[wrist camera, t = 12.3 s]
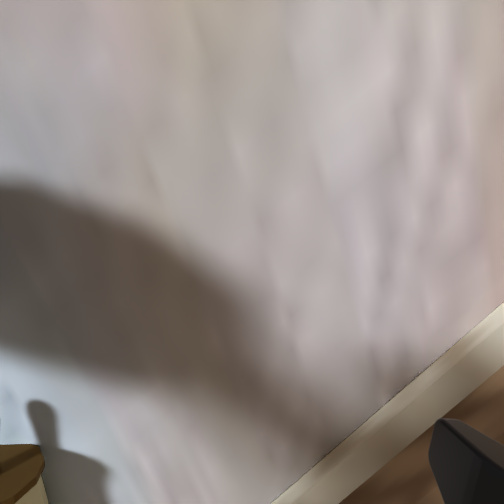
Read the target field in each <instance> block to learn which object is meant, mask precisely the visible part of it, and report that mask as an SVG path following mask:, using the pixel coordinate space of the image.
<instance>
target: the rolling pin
mask: <svg viewBox="0 0 504 504" xmlns="http://www.w3.org/2000/svg"><path fill="white" fill-rule="evenodd" d="M44 466H45V461H44V457H43V455H42V453H41V450H40V448H39V446H36V445H32V444H13V445H0V504H49V503H48V499H47V495H46V491H45V488H44V484H43V480H42V476H41V473H42V471H43V469H44Z"/></svg>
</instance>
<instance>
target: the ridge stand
mask: <svg viewBox="0 0 504 504" xmlns="http://www.w3.org/2000/svg"><path fill="white" fill-rule="evenodd" d="M439 418H448V419H458V420H460V421H462V422H464V423H466V424H467V425H469V426H471V427H473V428H474V429H476V430H478V431H480V432H481V433H483V434H485V435H487V436H488V437H490V438H492V439H493V440H495V441H497V442H499V443H500V444H502V445H504V302H503V303H502V304H501V305H500V306H499V307H498V308H496V309H495V310H494V311H493V312H492V313H491V314H489V315H488V316H487V317H486V318H485V319H484V320H482V321H481V322H480V323H479V324H478V325H477V326H476V327H474V328H473V329H472V330H471V331H470V332H469V333H467V334H466V335H465V336H464V337H463V338H462V339H461V340H459V341H458V342H457V343H456V344H455V345H454V346H452V347H451V348H450V349H449V350H448V351H447V352H446V353H444V354H443V355H442V356H441V357H440V358H439V359H437V360H436V361H435V362H434V363H433V364H432V365H431V366H429V367H428V368H427V369H426V370H425V371H424V372H422V373H421V374H420V375H419V376H418V377H417V378H416V379H414V380H413V381H412V382H411V383H410V384H409V385H407V386H406V387H405V388H404V389H403V390H402V391H401V392H399V393H398V394H397V395H396V396H395V397H394V398H392V399H391V400H390V401H389V402H388V403H387V404H385V405H384V406H383V407H382V408H381V409H380V410H379V411H377V412H376V413H375V414H374V415H373V416H372V417H370V418H369V419H368V420H367V421H366V422H365V423H364V424H362V425H361V426H360V427H359V428H358V429H357V430H355V431H354V432H353V433H352V434H351V435H350V436H349V437H347V438H346V439H345V440H344V441H343V442H342V443H340V444H339V445H338V446H337V447H336V448H335V449H334V450H332V451H331V452H330V453H329V454H328V455H327V456H325V457H324V458H323V459H322V460H321V461H320V462H319V463H317V464H316V465H315V466H314V467H313V468H312V469H310V470H309V471H308V472H307V473H306V474H305V475H304V476H302V477H301V478H300V479H299V480H298V481H297V482H295V483H294V484H293V485H292V486H291V487H290V488H288V489H287V490H286V491H285V492H284V493H283V494H282V495H280V496H279V497H278V498H277V499H276V500H275V501H273V502H272V503H271V504H444V501H443V498H442V496H441V493H440V491H439V488H438V485H437V483H436V480H435V477H434V475H433V472H432V470H431V467H430V464H429V460H428V450H429V446H430V441H431V437H432V433H433V428H434V424H435V422H436V420H438V419H439Z"/></svg>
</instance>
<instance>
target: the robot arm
mask: <svg viewBox="0 0 504 504" xmlns="http://www.w3.org/2000/svg"><path fill="white" fill-rule="evenodd" d="M428 460H429V464H430V467H431V470H432V472H433V475H434V477H435V480H436V483H437V485H438V488H439V491H440V493H441V496H442V498H443V501H444V504H504V445H502V444H500V443H499V442H497V441H495V440H493V439H492V438H490V437H488V436H487V435H485V434H483V433H481V432H480V431H478V430H476V429H474V428H473V427H471V426H469V425H467V424H466V423H464V422H462V421H460V420H458V419H448V418H439V419H438V420H436V422H435V424H434V428H433V433H432V437H431V441H430V446H429V450H428Z"/></svg>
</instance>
